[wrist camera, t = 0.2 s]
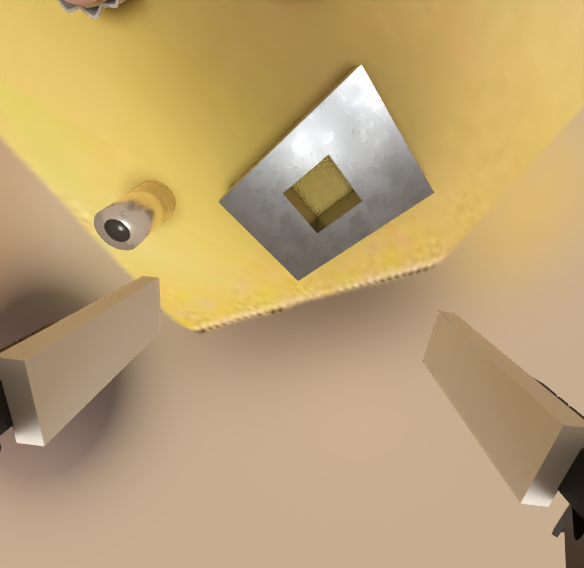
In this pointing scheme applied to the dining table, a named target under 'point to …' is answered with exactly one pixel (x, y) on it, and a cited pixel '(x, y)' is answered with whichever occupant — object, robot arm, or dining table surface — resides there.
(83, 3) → the cupcake
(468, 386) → the robot arm
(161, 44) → the dining table surface
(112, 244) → the bushing
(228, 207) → the jig
